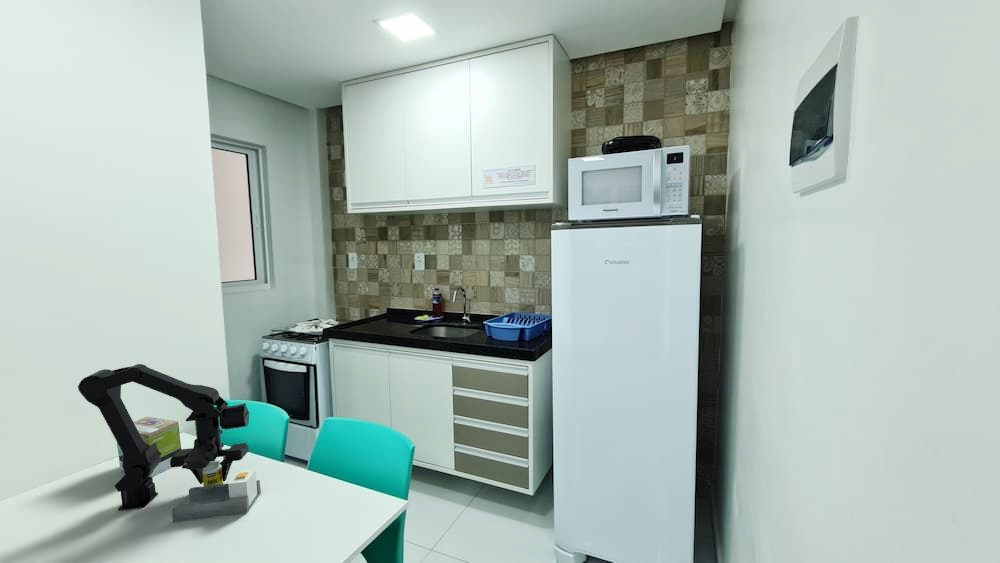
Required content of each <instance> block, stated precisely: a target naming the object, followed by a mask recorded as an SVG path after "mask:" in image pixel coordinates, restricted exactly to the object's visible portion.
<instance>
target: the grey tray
mask: <svg viewBox="0 0 1000 563" xmlns="http://www.w3.org/2000/svg"><path fill="white" fill-rule="evenodd" d="M256 481H257V492H258V493H257V494H256V496H255V497H254V499H253V500H252V502H251V503H250V505H249V499H248V496H245V497H236V498H230V497H229V487H228V483H223V484H220V485H212V486H204V485H202V486H195V487H194V486H193V487H190V488H189V489H188V498H189V500H188V501H187V502H185V503H179V504H173V506H171V515H172V523H176V522H185V521H186V520H187V521H192V520H202V519H209V518H218V517H223V516H224V517H225V516H226V517H227V516H232V515H240V514H248V513H249V512H250V509H251V508H252V507H253V505H255V502H256V501H257V499H258V498H259V497H260V495H261V493H262V489H261V481H260V479H256Z"/></svg>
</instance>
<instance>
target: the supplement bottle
mask: <svg viewBox="0 0 1000 563" xmlns="http://www.w3.org/2000/svg"><path fill="white" fill-rule="evenodd" d="M220 463H221V459H220V458H219V457H217V458H216V459H215V461H211V462H209V463H208V466H207V467H205V468H204V470H203V472H202V473H203V483H202V484H203V486H212V485H220V484H224V481H223V479H222V466H221V465H220Z"/></svg>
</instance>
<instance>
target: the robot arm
mask: <svg viewBox="0 0 1000 563" xmlns="http://www.w3.org/2000/svg"><path fill="white" fill-rule="evenodd" d="M129 383H134V384H135V383H136V384H137V385H140V386H143V387H145V388H148V389H151V390H153V391H156V392H159V393H161V394H163V395H165V396H169V397H171V398H174V399H176V400H178V401H179V402H181V404H182V405H183V406H184V407H186V408H187V409H188V410H191V413H190V415H189V416H188V417H187V418H186V419H185V421H186V422H191V421H194V426H195V433H196V435H195V436H196V438H195V439H193V441H194V442H193V448H192V447H191V448H181V450H180V451H179V452H178V453H176V454H175V455H174V456H173V457H172V458H171V460H170V467H171V468H170V469H173V468H180V467H181V468H182V469H183V470H184V469H186V470H189V471H191V473H192V474H193V475H194V477H195V479H196V480H197V481H198V483H199V485H202V484H203V473H202V472H203V470H204V468H205V467H207V466H208V463H209V462H211V461H215V459H216V458H220V457H221V458H222V461H220V465H221V466H222V479H223V482H225V481H227V478H228V476H229V472H230V469H231V466H232V464H233V462H237V461H241V460H242V459H243V458H244V457H245V456H246V455H247V454H248V453H249V450H250V448H249V445H248V444H247V443H246V442H243V443H233V444H232V445H231V447H229V448H226V449H223V448H224V446H225V443H224V442H222V437H221V435H222V434H223V429H224V430H225V431H226V430H233V429H239V428H245V427H248V426H249V423H250V410H249V409H248V407H247V404H246V403H240V404H236V405H229V403H228V401H226V400H225V399H224V398H223V397H221V396H220V392H219V391H218V389H216V388H215V387H212V386H211V387H210V386H208V385H202V384H191V383H188V382H186V381H183V380H180V379H177V378H175V377H173V376H171V375H168V374H165V373H164V372H163V373H162V372H160V371H157V370H155V369H153V368H150V367H148V366H147V365H145V364H142V363H137V364H135V365H131V366H126V367H121V368H117V369H113V370H111V369H105V368H103V369H100V370H98V371H96V372H94V373H92V374H90V375H87V376H86V377H83V378H82V379H81V380H80V382H79V383H78V385H77V389H78V391H79V393H80V395H81V396H82V397H83V398H84V399H85V401H86V402H87V403H90V404H91V405H93V406H95V407H97V408H98V410H99V411H100V414H101V415H102V417H103V419H104V420H105V423H106V424H107V426H108V428H109V430H110V432H111V434H112V435H113V437H114V439H115V441H116V444H117V443H118V445H119V447H120V449H121V450H122V453H123V462H122V466H123V470H124V471H123V473H124V476H122V477H121V478H120V480H118V481H117V483H116V484H115V485H114V487H115V488H116V491H117V492H118V493H119V492H120V497H121V505H120V506H119V507H118V508H117V511H126V510H127V511H128V510H135V509H143V508H145V507H146V506H147V505H148V504H149V503H150V502H151V501H153V500H154V499H155V498H156V497H157V496H158V495H159V492H157V491H156V483H155V482H154V481H153V479H154V478H153V477H149V476H150V474H151V473H153V471H154V469H155V468H156V467H157V466H158V465H159V463H160V461H161V458H160V455H161V454H162V453H161V452H159V450H158V448H157V445H156V443H153V444H152V445H149V444H147V443H145V442H144V441H143V439H142V438H141V436H140V434H139V432H138V430H137V428H136V426H135V424H134V422H135V421H133V419H132V417H131V415H130V413H129V411H128V409H127V407H126V405H125V404H124V402H123V400H122V397H121V396H122V386H123V385H126V384H129Z"/></svg>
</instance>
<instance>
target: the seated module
mask: <svg viewBox="0 0 1000 563" xmlns="http://www.w3.org/2000/svg"><path fill="white" fill-rule="evenodd" d="M256 480H257V471H256V469H250V470H249V469H248V470H242V471H240V470H239V471H238V472H237V473H236V474H235V475H234V476H233V477H232V479H231V480H230V481H229V482H228V483H227V484H228V487H229V497H230V498H236V497H245V496H248V499H249V505H250V503H251V502H252V500H253V499H254V497H255V496H256V494H257V493H258V492H257V481H256Z"/></svg>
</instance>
